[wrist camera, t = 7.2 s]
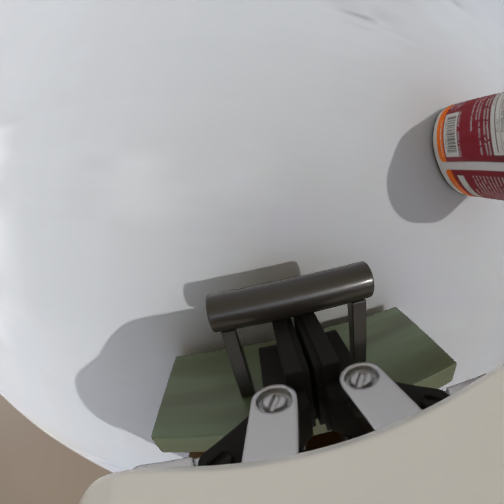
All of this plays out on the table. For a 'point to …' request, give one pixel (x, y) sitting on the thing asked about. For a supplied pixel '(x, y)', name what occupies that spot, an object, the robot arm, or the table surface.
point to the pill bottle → (472, 146)
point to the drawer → (247, 357)
